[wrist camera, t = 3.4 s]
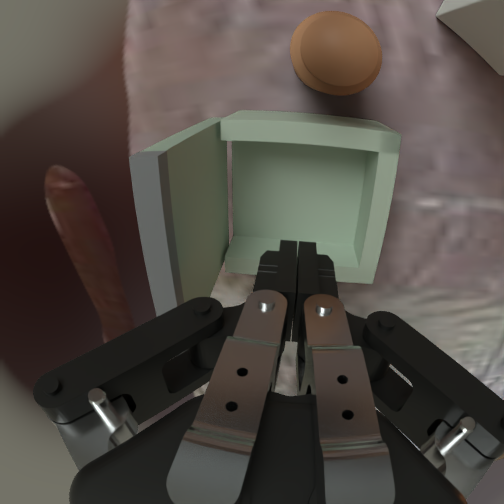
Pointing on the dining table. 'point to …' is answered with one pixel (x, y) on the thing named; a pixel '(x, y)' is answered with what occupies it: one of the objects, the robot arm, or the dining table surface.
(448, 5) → the milk carton
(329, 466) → the robot arm
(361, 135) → the crate
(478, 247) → the dining table surface
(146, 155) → the panel
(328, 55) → the brown ridged cylinder
